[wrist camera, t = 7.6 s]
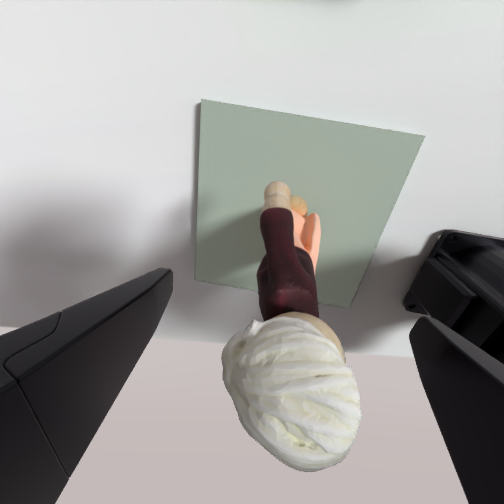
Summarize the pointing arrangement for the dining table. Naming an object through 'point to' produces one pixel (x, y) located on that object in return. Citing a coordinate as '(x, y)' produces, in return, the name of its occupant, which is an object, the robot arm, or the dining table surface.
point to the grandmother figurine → (292, 349)
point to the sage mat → (295, 191)
